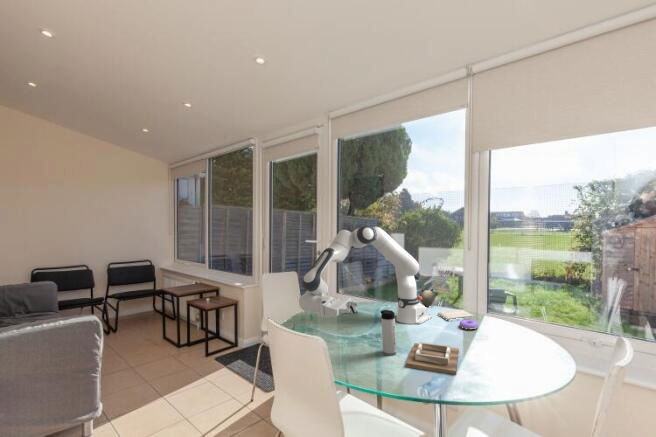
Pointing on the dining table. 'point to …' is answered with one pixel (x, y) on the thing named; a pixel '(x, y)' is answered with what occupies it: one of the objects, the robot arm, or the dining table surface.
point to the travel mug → (388, 332)
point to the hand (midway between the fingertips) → (353, 307)
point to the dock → (433, 358)
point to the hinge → (352, 309)
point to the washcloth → (454, 314)
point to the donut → (468, 324)
